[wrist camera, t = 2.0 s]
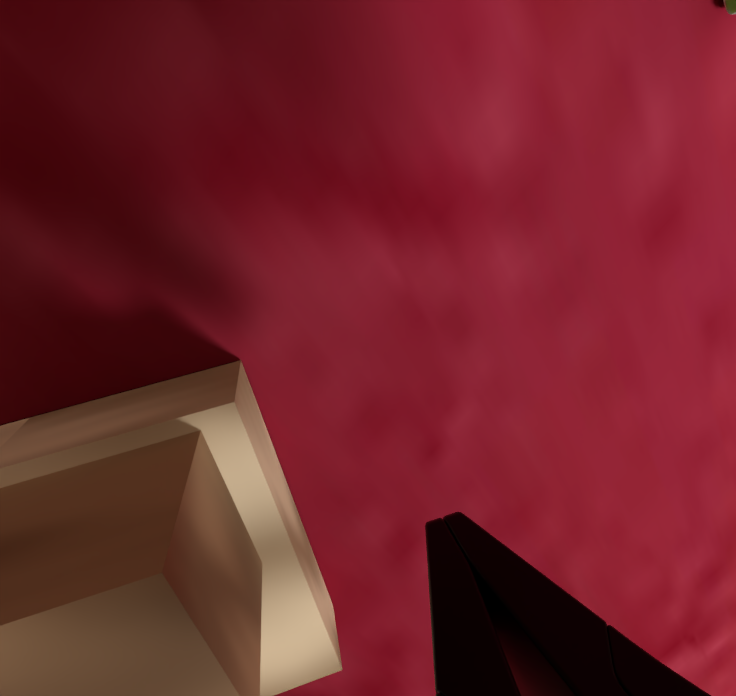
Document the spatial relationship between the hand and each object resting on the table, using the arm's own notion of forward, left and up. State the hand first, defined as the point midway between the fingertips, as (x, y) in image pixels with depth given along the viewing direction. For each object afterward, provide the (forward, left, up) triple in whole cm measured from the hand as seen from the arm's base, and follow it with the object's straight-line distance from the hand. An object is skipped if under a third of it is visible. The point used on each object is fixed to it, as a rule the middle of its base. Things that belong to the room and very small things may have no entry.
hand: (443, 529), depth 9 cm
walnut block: (0, +7, -3) cm, 8 cm away
